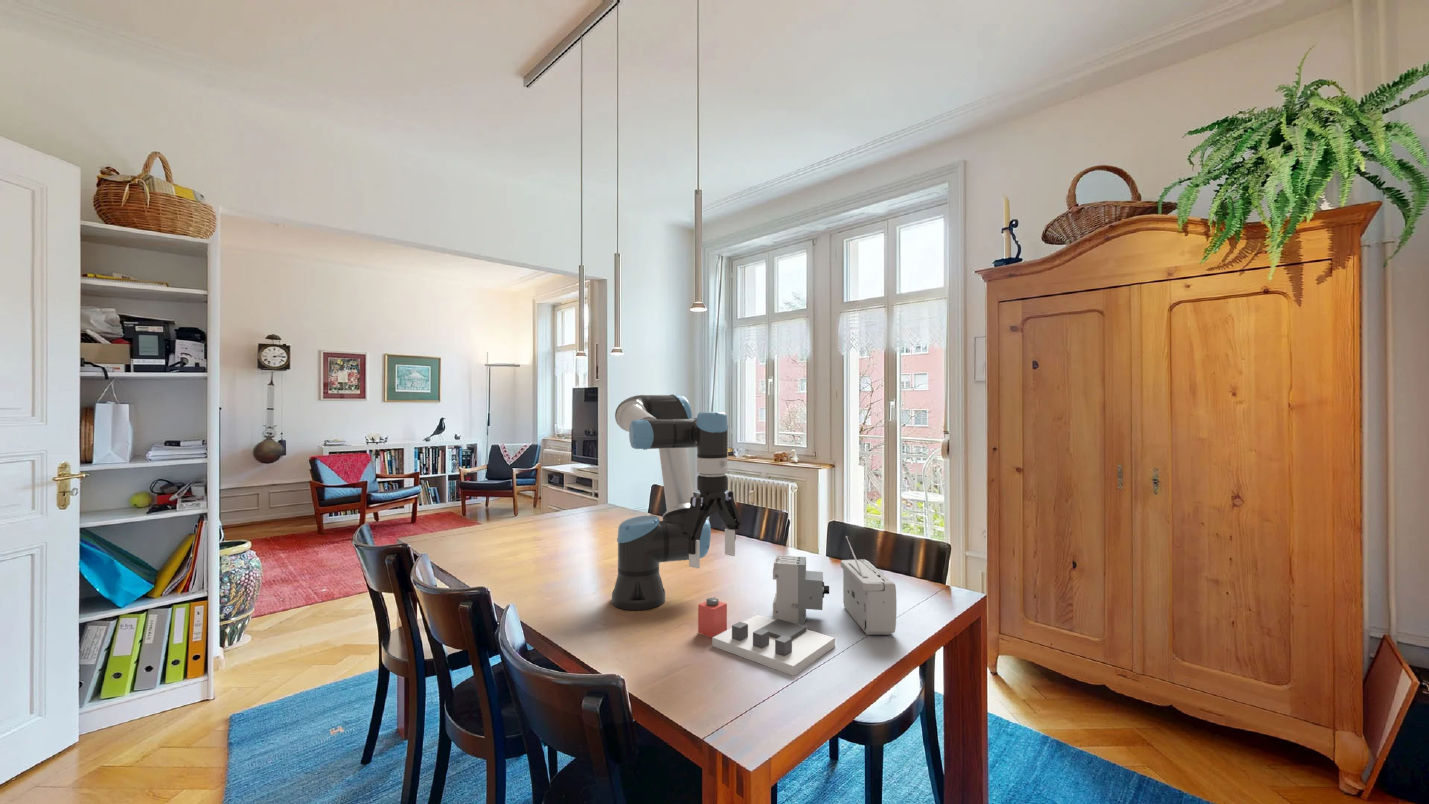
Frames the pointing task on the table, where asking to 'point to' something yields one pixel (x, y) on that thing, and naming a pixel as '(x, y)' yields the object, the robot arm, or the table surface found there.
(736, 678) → the table surface
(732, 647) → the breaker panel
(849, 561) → the stereo radio cassette player
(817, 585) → the circuit breaker
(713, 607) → the cap
